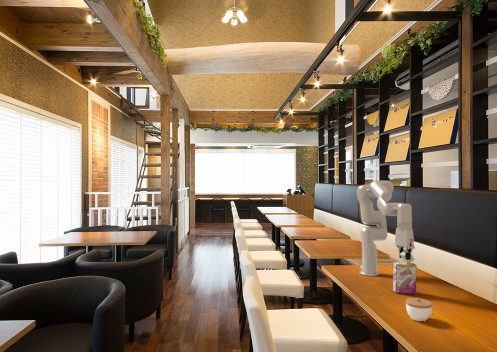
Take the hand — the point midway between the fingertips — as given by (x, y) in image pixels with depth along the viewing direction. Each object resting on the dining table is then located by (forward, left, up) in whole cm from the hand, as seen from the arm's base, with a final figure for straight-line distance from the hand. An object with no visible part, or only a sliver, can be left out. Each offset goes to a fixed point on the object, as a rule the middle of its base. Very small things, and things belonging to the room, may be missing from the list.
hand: (405, 258), depth 195 cm
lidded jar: (+33, -21, -19) cm, 43 cm away
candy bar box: (0, 0, -19) cm, 19 cm away
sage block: (0, +3, -2) cm, 3 cm away
